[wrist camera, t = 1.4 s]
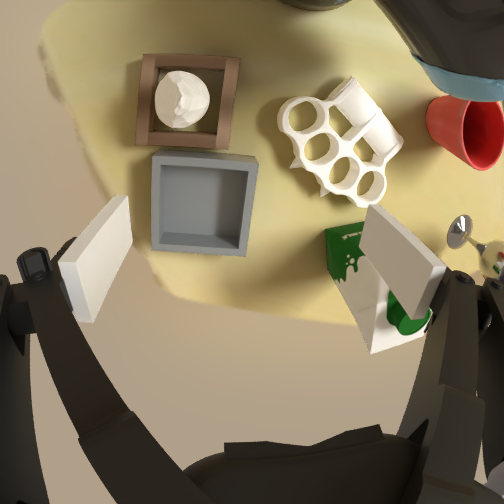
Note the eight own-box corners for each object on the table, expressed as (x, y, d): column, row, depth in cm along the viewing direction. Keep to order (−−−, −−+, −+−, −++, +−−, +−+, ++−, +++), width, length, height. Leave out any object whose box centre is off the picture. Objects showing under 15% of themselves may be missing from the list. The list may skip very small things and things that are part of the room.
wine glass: (445, 256, 48) (493, 303, 35) (445, 220, 44) (500, 264, 31) (473, 242, 47) (521, 283, 34) (474, 207, 43) (528, 245, 30)
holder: (149, 57, 29) (143, 54, 26) (238, 61, 30) (240, 58, 28) (141, 141, 34) (135, 144, 31) (227, 145, 36) (228, 149, 33)
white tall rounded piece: (135, 75, 20) (200, 59, 20) (161, 83, 31) (206, 72, 31) (148, 140, 23) (212, 125, 23) (170, 127, 34) (214, 118, 34)
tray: (159, 149, 35) (152, 155, 31) (254, 156, 37) (258, 163, 33) (157, 234, 40) (151, 250, 37) (242, 240, 42) (245, 256, 38)
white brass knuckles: (407, 153, 38) (342, 220, 43) (329, 59, 31) (252, 135, 36) (420, 159, 35) (350, 230, 40) (338, 56, 28) (255, 138, 33)
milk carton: (372, 214, 42) (452, 291, 25) (371, 264, 47) (434, 350, 29) (318, 224, 42) (380, 315, 25) (322, 276, 47) (370, 373, 29)
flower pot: (472, 113, 35) (514, 124, 26) (448, 165, 39) (488, 184, 31) (434, 73, 32) (478, 75, 23) (407, 129, 36) (449, 142, 28)
